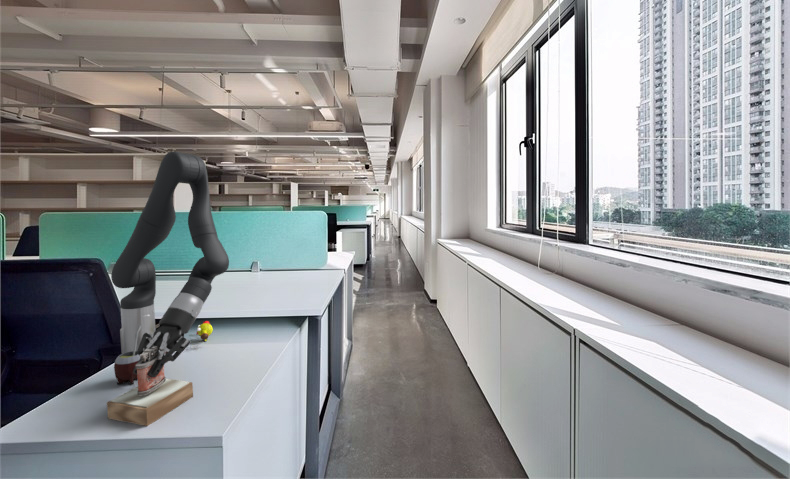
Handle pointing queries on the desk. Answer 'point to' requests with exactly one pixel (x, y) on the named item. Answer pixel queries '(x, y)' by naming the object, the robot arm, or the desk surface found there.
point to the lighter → (143, 367)
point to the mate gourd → (127, 365)
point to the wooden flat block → (149, 402)
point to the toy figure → (204, 330)
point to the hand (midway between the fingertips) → (143, 374)
